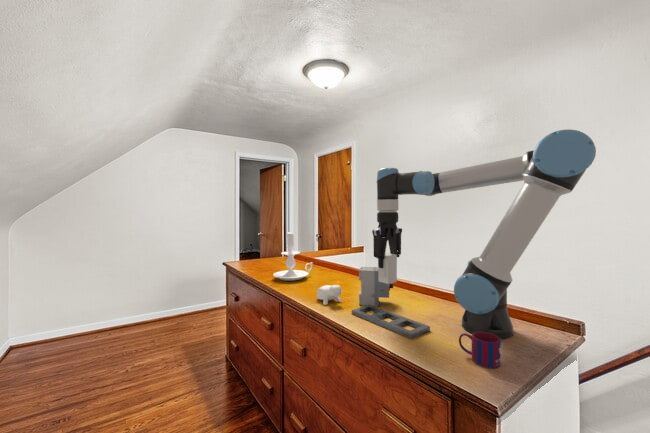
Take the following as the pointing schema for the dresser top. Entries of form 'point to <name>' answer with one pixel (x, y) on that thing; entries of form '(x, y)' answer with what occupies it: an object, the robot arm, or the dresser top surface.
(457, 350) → the dresser top surface
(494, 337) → the mug
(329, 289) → the white animal figurine
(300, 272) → the candlestick
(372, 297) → the circuit breaker
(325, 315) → the dresser top surface
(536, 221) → the robot arm
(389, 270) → the peg
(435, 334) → the dresser top surface
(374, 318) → the board with rectangular holes
